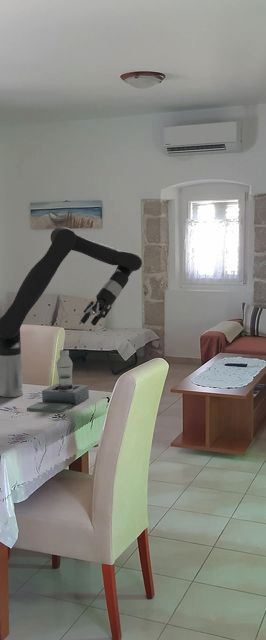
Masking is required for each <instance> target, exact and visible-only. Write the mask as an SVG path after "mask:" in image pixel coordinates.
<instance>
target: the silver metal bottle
mask: <svg viewBox="0 0 266 640" xmlns="http://www.w3.org/2000/svg"><path fill="white" fill-rule="evenodd" d="M69 355H70V351H69V350H68V349H60V350H59V358H58V359H57V361H56V370H57V377H58V384H59V385H58V390H63V391H73V386H72V385H73V364H74V363H73V361H72V359H71V357H70V356H69Z"/></svg>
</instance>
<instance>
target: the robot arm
mask: <svg viewBox="0 0 266 640" xmlns="http://www.w3.org/2000/svg"><path fill="white" fill-rule="evenodd" d="M50 241H51V244H50V246H49V248H48V249H47V251H46V253H45V254H44V255H43V256H42V257H41V258H40V259H39V260H38V261H37V262H36V263H35V265H34V266H33V267H32V268H31V269H30V270H29V271H28V273H27V275H26V276H25V278H24V280H23V281H22V283H21V285H20V286H19V288H18V290H17V293H16V295H15V297H14V300H13V302H12V303H11V305H10V306H9V308H8V309H7V310H6V312H5V313H4V314H3V315H2V316H0V397H1V396H2V397H1V398H15V397H17V398H18V397H21V396H23V394H24V391H23V388H24V387H23V371H22V368H23V367H22V350H21V348H22V345H21V344H22V343H21V327H22V326H23V322H24V321H25V320H26V317H27V316H28V314H29V312H30V311H31V309H32V308H34V306H35V304H36V303H37V302H38V301H39V299H40V298H41V297H42V295H43V294H44V292H45V290H46V289H47V288H48V286H49V284H50V283H51V280H52V279H53V277H54V276H55V274H56V273H57V270H58V269H59V268H60V265H61V264H62V262H63V261H64V260H65V258H67V256H68V254H70V252H71V251H74V252H77V253H80V254H83V255H85V256H87V257H90V258H92V259H94V260H97V261H100V262H101V263H104V264H107V265H110V266H117V267H116V269H115V270H114V272H113V273H112V274H111V276H110V277H109V279H108V280H107V281H106V282H105V283H104V285H103V286H102V287H101V289H100V290H99V291H98V292H97V294H96V296H95V297H96V301H95V302H94V301H93V300H92V301H90V302H89V303H88V305H87V306H86V307H85V309H84V310H83V311H82V312H83V313H84V315H83V316H82V317H81V319H80V322H81V324H83V325H85V324H86V323H87V321H88V320H89V318H90V317H91V316H94V317H93V318H92V320H91V321H90V323H91V325H92V326H96V325H97V324H98V323H99V321H100V320H102V318H103V319H104V318H106V317H107V315H108V314H109V312H110V311H111V309H112V305H113V304H114V303H115V301H116V300H117V299H118V297H120V294H121V293H122V291H123V289H124V288H125V287H126V285H127V284H128V282H129V277H130V275H131V274H132V273H133V272H136V271H139V270H140V269H141V268H142V265H143V262H142V261H143V260H142V259H141V257H140V256H139V255H138V254H136V253H133V252H130V251H124V250H119V249H117V248H115V247H112V246H109V245H106V244H103V243H100V242H97V241H93V240H91V239H87V238H85V237H82V236H81V235H78V234H76V233H75V232H74V231H73V230H72V229H71V228H69V227H66V226H59V227H56V228H54V229H53V230H52V232H51V233H50ZM95 314H96V315H95Z"/></svg>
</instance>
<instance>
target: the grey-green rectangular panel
mask: <svg viewBox="0 0 266 640" xmlns="http://www.w3.org/2000/svg"><path fill="white" fill-rule="evenodd" d="M71 407H72V405H71V404H60V403H45V402H43V401H41V402H40V401H37V402H36V403H33V404H32V405H31V404H30V406H28V407H26V411H29V412H42V413H44V412H45V413H59V414H62V413H63V412H65V411H67V410H68V409H69V408H71Z"/></svg>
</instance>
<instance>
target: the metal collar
mask: <svg viewBox="0 0 266 640" xmlns="http://www.w3.org/2000/svg"><path fill="white" fill-rule="evenodd" d="M58 385H59V383H55V384H53V385H51V386H49V387H47V388H45V389H44V390H41V399H42V401H41V402H45V403H60V404H71V406H78V405H80V404H81V403H82V402H84V401H86V400H87V399H89V397H90V396H89V395H90V394H89V385H88V384H87V385H85V384H72V386H73V391H63V390H58Z"/></svg>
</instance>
